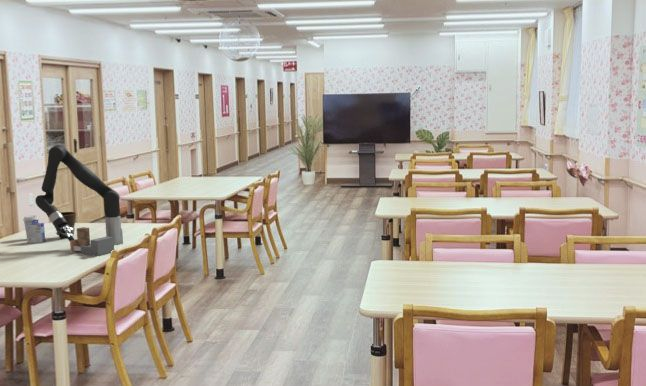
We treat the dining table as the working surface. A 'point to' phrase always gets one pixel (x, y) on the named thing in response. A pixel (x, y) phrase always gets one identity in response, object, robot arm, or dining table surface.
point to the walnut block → (83, 236)
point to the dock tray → (75, 245)
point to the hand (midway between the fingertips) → (73, 241)
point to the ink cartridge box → (35, 232)
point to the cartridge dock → (99, 246)
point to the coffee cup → (29, 220)
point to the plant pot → (69, 219)
